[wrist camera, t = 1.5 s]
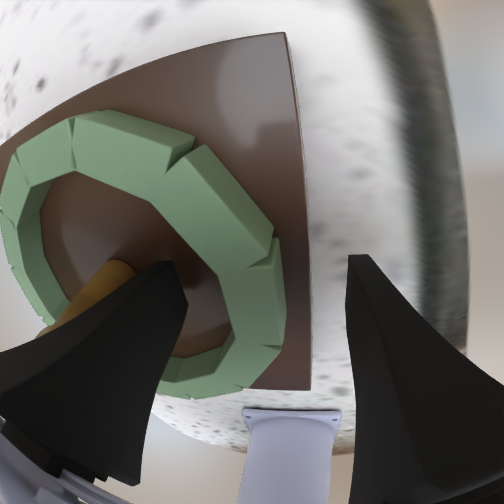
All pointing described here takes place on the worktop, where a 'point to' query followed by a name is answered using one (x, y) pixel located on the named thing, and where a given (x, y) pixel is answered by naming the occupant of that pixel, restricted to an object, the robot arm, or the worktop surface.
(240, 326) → the ring
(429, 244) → the worktop surface
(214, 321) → the peg stand
